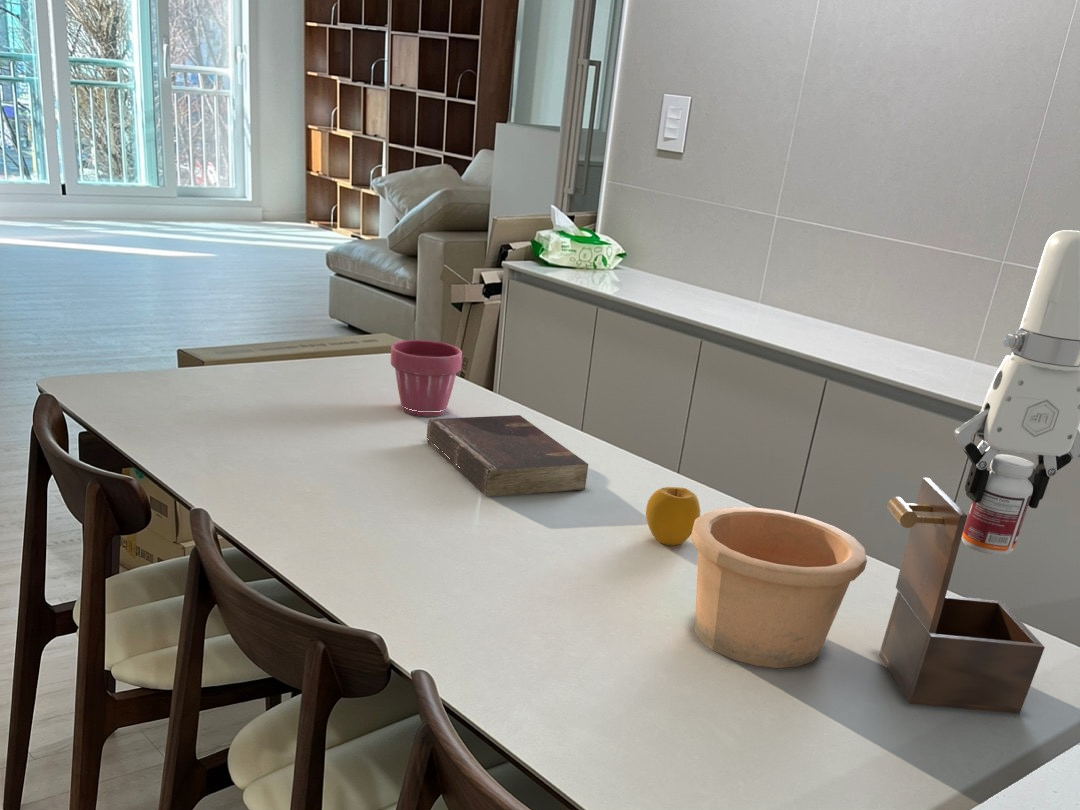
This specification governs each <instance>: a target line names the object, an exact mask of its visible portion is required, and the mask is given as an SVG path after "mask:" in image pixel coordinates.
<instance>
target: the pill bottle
mask: <svg viewBox="0 0 1080 810" xmlns="http://www.w3.org/2000/svg"><path fill="white" fill-rule="evenodd" d="M1033 468H1035V463H1034V462H1032V461H1031V460H1028V459H1026V458H1023V457H1020V456H1017V455H1011V454H1005V453H1003V454H1002V453H1001V454H998V453H997V455H996V456H995V457H994V459H993V460H992V461H991V462H990V464H989V469H990V470H989V472H990V475H989V478H988V481H987V484H986V487H985V490H984V493H983V497H982V500H981V502H979V503H976V502H973V501H972V500H971V505H970V509H969V511H968V515H967V520H966V523H965V527H964V531H963V534H962V538H961V542H962V543H963V544H964V545H965V547H967V548H969V549H971V550H974V551H975V552H978V553H983V554H986V555H993V556H1005V555H1009V554H1011V553H1012V552H1013V551H1014V549H1015V547H1016V545H1017V542H1018V539H1019V535H1020V532H1021V529H1022V526H1023V523H1024V520H1025V517H1026V513H1027V511H1028V508H1029V506H1028V505H1029V502H1030V499H1031V496H1032V492H1033V485H1032V483H1031V482H1030V481H1029V480H1028V477H1030V476H1031V474H1032V472H1033Z"/></svg>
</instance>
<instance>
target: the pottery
mask: <svg viewBox="0 0 1080 810" xmlns="http://www.w3.org/2000/svg"><path fill="white" fill-rule="evenodd" d="M690 541H691V542H692V544H693V546H694V547H695V548H696V550H697V566H696V567H697V568H696V590H695V611H694V626H693V630H694V633H695V634H696V636H697V638H698V639H699V640H700V642H702V643H703V644H704V645H705V646H706V647H708V648H709V649H711V650H712V651H713V652H715V653H717V654H719V655H722V656H724V657H726V658H728V659H730V660H733V661H736V662H740V663H743V664H747V665H750V666H756V667H762V668H763V667H765V668H773V669H784V668H797V667H801V666H803V665H807V664H809V663H812V662H814V660H816V658H817V657H819V656H820V654H821V651H822V649H823V646H824V644H825V642H826V640H827V637H828V634H829V632H830V630H831V627H832V625H833V623H834V621H835V619H836V616H837V615H838V611H839V609H840V607H841V604H842V603H843V600H844V598H845V595H846V593H847V591H848V589H849V586H850V584H851V582H853V581H855V580H856V579H857V578H858V577H859V576H860V575H862V573H863V572H864V571H865V570H866V566H867V562H868V560H867V553H866V548H865V546H863V545H862V544H861V543H860V542H859V541H858V540H857V539H856V537H854V536H853V535H851V534H849V533H847V532H845V531H844V530H842V529H840V528H838V527H837V526H834V525H831V524H829V523H826V522H823V521H821V520H818V519H816V518H812V517H809V516H806V515H803V514H799V513H798V514H797V513H793V512H789V511H785V510H780V509H772V508H763V507H753V506H752V507H751V506H750V507H749V506H748V507H725V508H719V509H714V510H709V511H707V512H705V513H703V514H702V515H700V517H698V518H696V520H695V522H694V526H693V529H692V534H691V535H690Z"/></svg>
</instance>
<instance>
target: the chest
mask: <svg viewBox="0 0 1080 810" xmlns="http://www.w3.org/2000/svg"><path fill="white" fill-rule="evenodd" d="M1045 648H1046V646H1044V645H1043V643H1042V642H1040V640H1039V639H1038V638H1037V637H1036V636H1035V635H1034V634H1033V632H1032V631H1031V630H1029V628H1028V627H1027V626H1026V625H1025V624H1024V623H1023V622H1022V621H1021V620H1020V618H1019V617H1018V616H1017V615H1016V614H1015V613H1014V612H1013V611H1012V610H1011V609H1010V607H1008V605H1006V604H1005V602H1004V601H1003V600H998V599H987V598H974V597H966V596H965V597H964V596H963V597H962V596H956V595H955V596H953V595H946V597H945V600H944V604H943V607H942V611H941V615H940V618H939V622H938V626H937V629H936V633H929V632H928V631H927V629H926V628H925V627H924V625H923V624H922V623H921V621H920V620H919V618H918V617H917V616H916V614H915V613H914V612H913V610H912V609H911V608H910V606H909V605H908V603H907V602H906V601H905V599H904V598H903V597H902V595H901V594H900V593H899V591H898V590H897V592H896V595H895V598H894V602H893V607H892V609H891V612H890V616H889V619H888V623H887V626H886V629H885V633H884V636H883V640H882V643H881V647H880V650H879V653H878V654H879V656H880V658H881V660H882V662H883V663H884V664H885V665H884V666H886V668H887V670H888V671H889V673H890V675H891V676H892V678H893V679H894V681H895V682H896V684H897V686H898V687H899V689H900V691H901V693H902V694H903V695H904V697H905V698H906V701H907V702H908V703H909V705H917V706H919V705H920V706H929V707H939V708H952V709H960V710H961V709H963V710H974V711H986V712H996V713H1005V714H1006V713H1008V714H1009V713H1010V714H1016V715H1017V714H1018V715H1020V714H1021V712H1022V709H1023V708H1024V707H1023V706H1024V704H1025V701H1026V699H1027V696H1028V694H1029V691H1030V688H1031V685H1032V682H1033V680H1034V677H1035V675H1036V673H1037V669H1038V667H1039V664H1040V662H1041V659H1042V656H1043V653H1044V651H1045Z"/></svg>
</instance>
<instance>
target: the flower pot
mask: <svg viewBox="0 0 1080 810" xmlns="http://www.w3.org/2000/svg"><path fill="white" fill-rule="evenodd" d="M462 363H463V351H462V349H461V348H459V347H457V346H456V345H453V344H449V343H447V342H443V341H442V342H441V341H435V340H428V339H427V340H426V339H405V340H400V341H396V342H394V343H393V344H391V347H390V365H391V366H392V367H393V368H394V370H395V377H396V385H397V391H398V395H399V400H400V406H401V405H402V406H403V407H402V406H401V407H400V408H401V411H403V412H404V413H406V414H408V415H412V416H415V417H416V416H417V417H425V418H426V417H427V418H430V417H432V418H433V417H438V416H439V417H440V416H442V415H445V414H446V411H447V409H446V408H448V405H449V403H450V399H451V397H452V391H453V388H454V385H455V381H456V380H455V379H456V376H457V374H458V373H459V372H460V371H461V370H462ZM404 407H406V408H408V409H406V408H404ZM409 409H412V410H417V411H412V410H409ZM444 409H446V410H444ZM440 410H444V411H441V412H418V411H440Z"/></svg>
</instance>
